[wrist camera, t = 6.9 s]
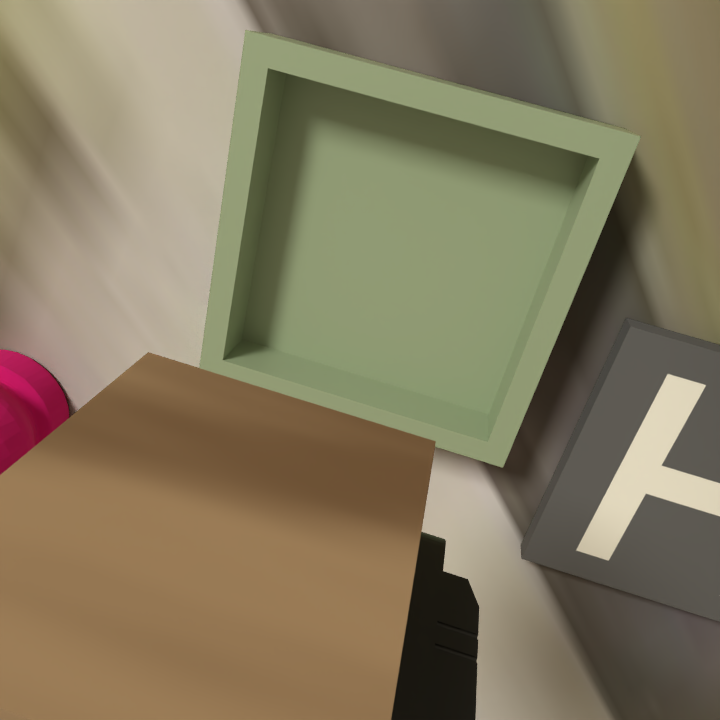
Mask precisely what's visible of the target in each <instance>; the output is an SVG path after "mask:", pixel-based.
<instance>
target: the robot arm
mask: <svg viewBox="0 0 720 720" xmlns="http://www.w3.org/2000/svg"><path fill="white" fill-rule="evenodd" d="M16 462H17V461H16ZM11 466H12V465H11ZM11 466H10V467H11ZM5 471H6V470H5ZM445 545H446V541H445V539H442V538H439V537H436V536H433V535H430V534H427V533H423V532H421V537H420V543H419V549H418V555H417V561H416V568H415V574H414V580H413V586H412V593H411V599H410V605H409V611H408V617H407V624H406V630H405V636H404V642H403V648H402V655H401V661H400V667H399V673H398V680H397V686H396V692H395V698H394V704H393V711H392V717H391V720H475V714H476V684H477V663H476V660H477V653H478V640H477V636H478V623H479V605H478V603H477V601H476V598H475V596H474V593H473V591H472V588H471V586H470V584H469V581H468V579H465V578H462V577H459V576H456V575H453V574H450V573H447V572H444V571H443V564H444V555H445Z"/></svg>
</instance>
